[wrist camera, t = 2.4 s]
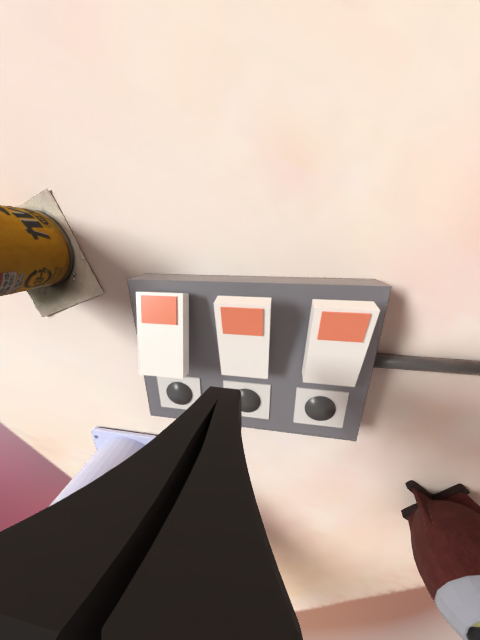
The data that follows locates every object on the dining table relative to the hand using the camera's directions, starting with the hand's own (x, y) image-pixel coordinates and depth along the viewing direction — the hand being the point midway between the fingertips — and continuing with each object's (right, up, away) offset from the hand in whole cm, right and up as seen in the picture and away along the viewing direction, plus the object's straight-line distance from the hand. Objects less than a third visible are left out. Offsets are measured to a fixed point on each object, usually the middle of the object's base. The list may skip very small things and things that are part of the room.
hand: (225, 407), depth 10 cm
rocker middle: (+1, +2, +5) cm, 6 cm away
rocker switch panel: (+6, +1, +9) cm, 11 cm away
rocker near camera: (+6, +2, +4) cm, 8 cm away
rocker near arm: (-5, +3, +6) cm, 8 cm away
